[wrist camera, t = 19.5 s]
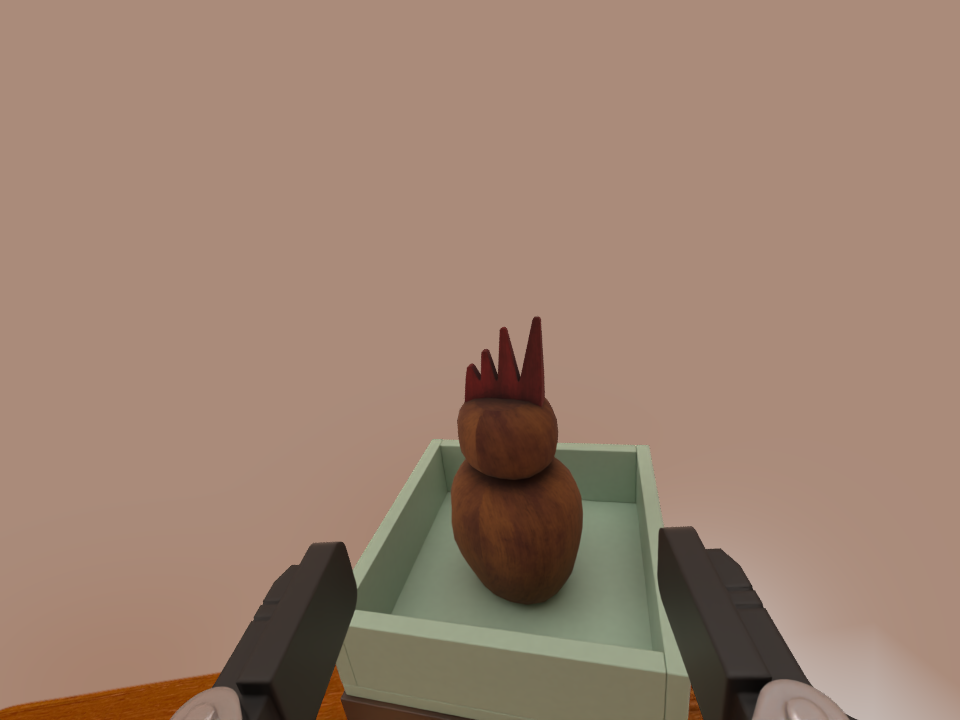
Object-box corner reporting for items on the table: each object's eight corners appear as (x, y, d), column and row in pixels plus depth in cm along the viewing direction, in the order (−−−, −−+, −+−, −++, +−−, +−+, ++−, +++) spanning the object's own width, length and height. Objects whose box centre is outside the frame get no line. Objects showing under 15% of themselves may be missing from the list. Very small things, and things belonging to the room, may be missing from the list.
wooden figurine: (602, 567, 25) (596, 306, 20) (546, 648, 21) (519, 350, 16) (505, 521, 30) (478, 296, 24) (443, 581, 26) (395, 329, 20)
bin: (647, 506, 30) (649, 444, 29) (684, 761, 17) (691, 677, 16) (442, 493, 34) (432, 438, 32) (345, 695, 21) (321, 621, 19)
